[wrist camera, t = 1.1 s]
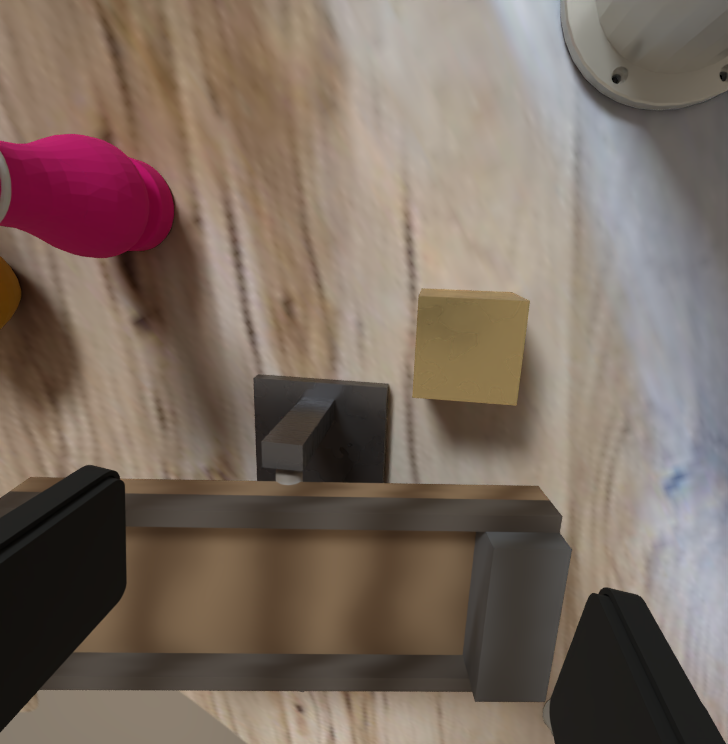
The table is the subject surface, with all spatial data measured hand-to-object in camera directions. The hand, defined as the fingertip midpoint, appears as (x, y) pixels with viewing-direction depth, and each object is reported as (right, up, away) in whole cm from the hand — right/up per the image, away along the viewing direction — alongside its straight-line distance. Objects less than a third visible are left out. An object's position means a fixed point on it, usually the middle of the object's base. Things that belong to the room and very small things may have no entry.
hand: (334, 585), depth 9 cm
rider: (+7, +7, +22) cm, 24 cm away
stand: (-3, -6, +27) cm, 28 cm away
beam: (-4, -8, +19) cm, 21 cm away
